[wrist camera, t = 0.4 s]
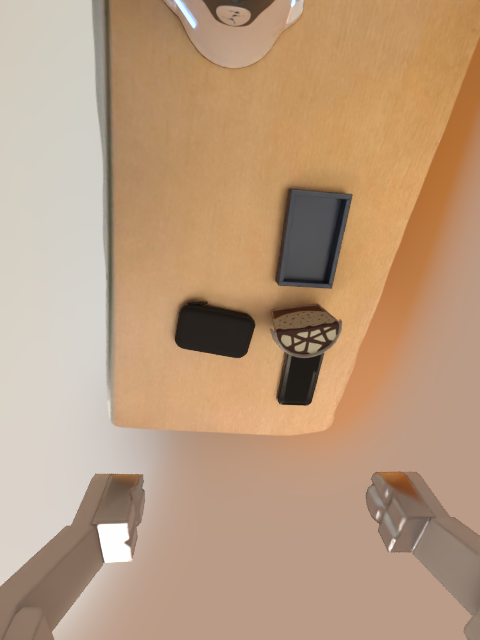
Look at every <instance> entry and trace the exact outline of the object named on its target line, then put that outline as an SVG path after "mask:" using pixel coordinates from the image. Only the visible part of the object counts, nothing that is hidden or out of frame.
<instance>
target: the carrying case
mask: <svg viewBox="0 0 480 640" xmlns="http://www.w3.org/2000/svg"><path fill="white" fill-rule="evenodd" d="M207 303H208V302H207V301H195V302H192V303H188V304H187V305H185V306H183V307H182V308H181V310H180V313H179V318H178V324H177V330H176V335H175V342H176V344H177V345H178V346H179V347H181V348H183V349H188V350H194V351H199V352H205V353H211V354H216V355H222V356H228V357H234V358H241V357H243V356H245V355H246V353H247V352H248V348H249V345H250V342H251V338H252V335H253V331H254V328H255V322H254V320H253V318H252V317H250V316H248V315H247V314H243V313H238V312H233V311H229V310H224V309H219V308H214V307H209V306H205V305H200V304H207Z"/></svg>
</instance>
